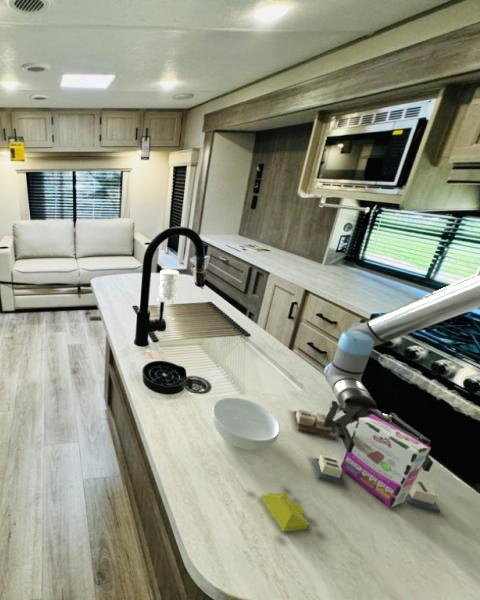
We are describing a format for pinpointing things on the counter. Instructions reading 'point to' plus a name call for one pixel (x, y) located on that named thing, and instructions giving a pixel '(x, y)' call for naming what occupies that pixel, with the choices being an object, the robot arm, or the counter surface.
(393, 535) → the counter surface
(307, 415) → the cream block pair
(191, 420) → the counter surface
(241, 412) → the cereal bowl
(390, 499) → the candy bar box
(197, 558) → the counter surface
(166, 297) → the decorative container
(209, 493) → the counter surface
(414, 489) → the cream blocks on trays
